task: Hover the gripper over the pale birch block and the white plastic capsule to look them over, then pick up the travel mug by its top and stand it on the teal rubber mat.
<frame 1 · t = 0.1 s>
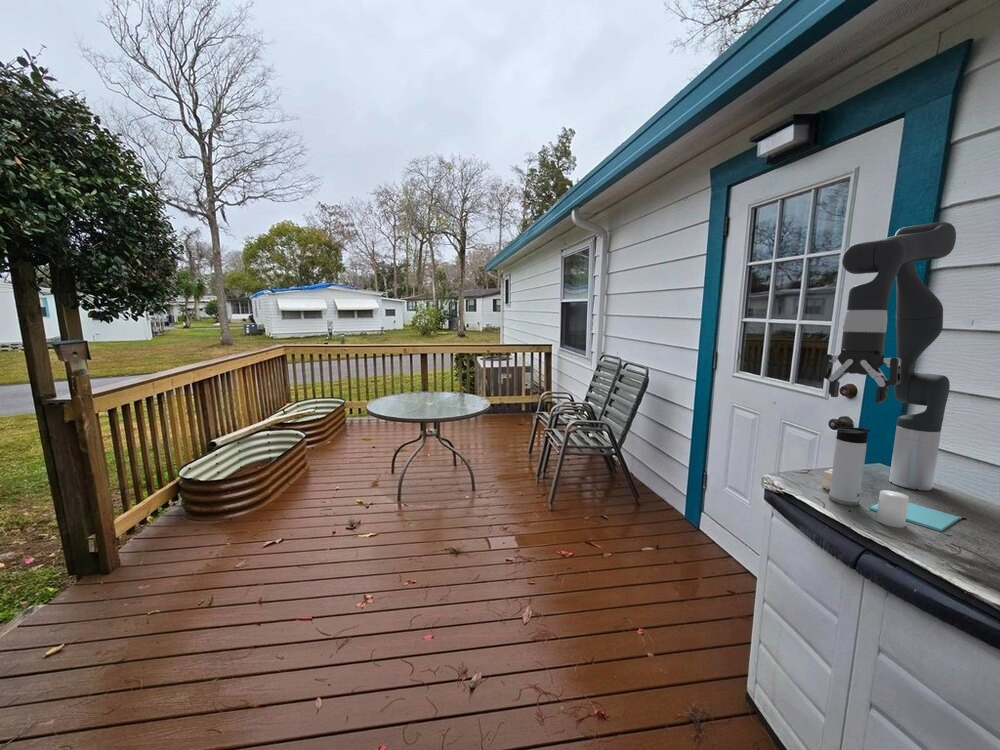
hand: (855, 399, 98), 29 cm above the table, tool pointing down, fingers open, 8 cm apart
white plastic capsule: (890, 522, 100), on the table
travel mug: (844, 501, 112), on the table
birch block: (836, 489, 120), on the table
teal mat: (913, 514, 104), on the table
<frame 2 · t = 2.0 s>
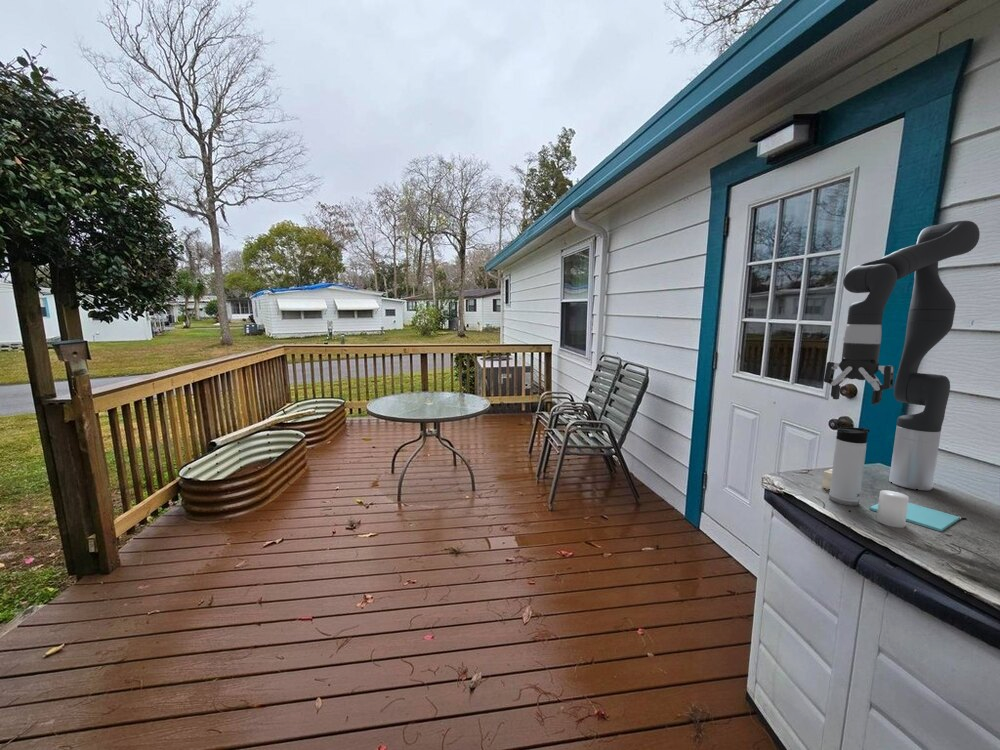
hand: (854, 401, 114), 26 cm above the table, tool pointing down, fingers open, 8 cm apart
nothing on the table moved.
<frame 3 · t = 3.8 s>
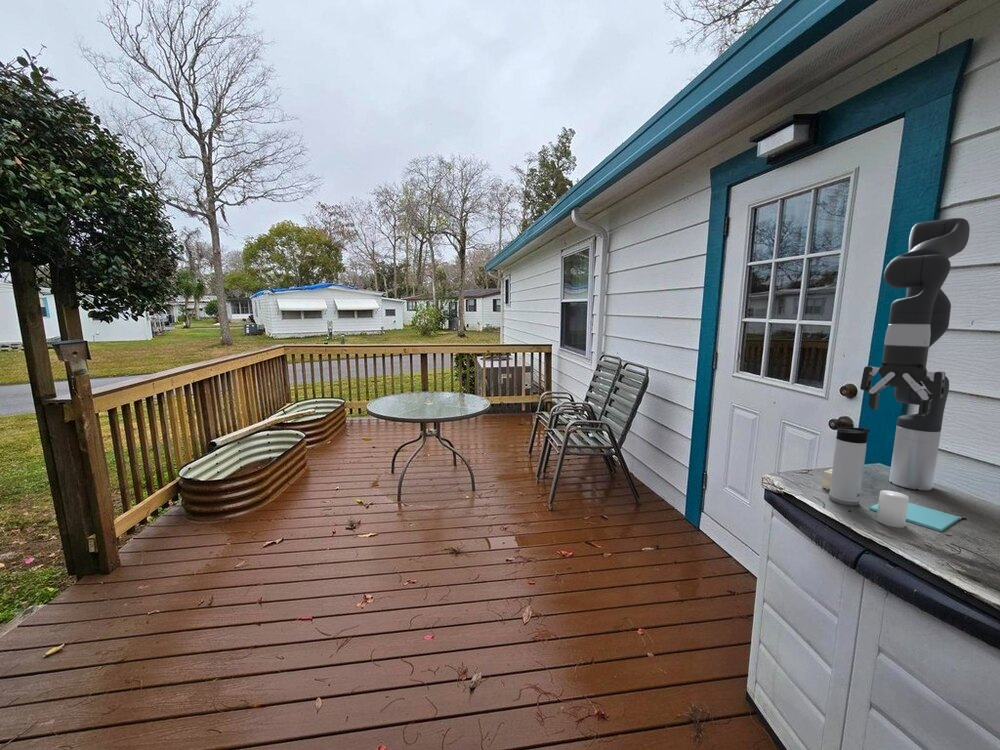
hand: (896, 412, 99), 26 cm above the table, tool pointing down, fingers open, 8 cm apart
nothing on the table moved.
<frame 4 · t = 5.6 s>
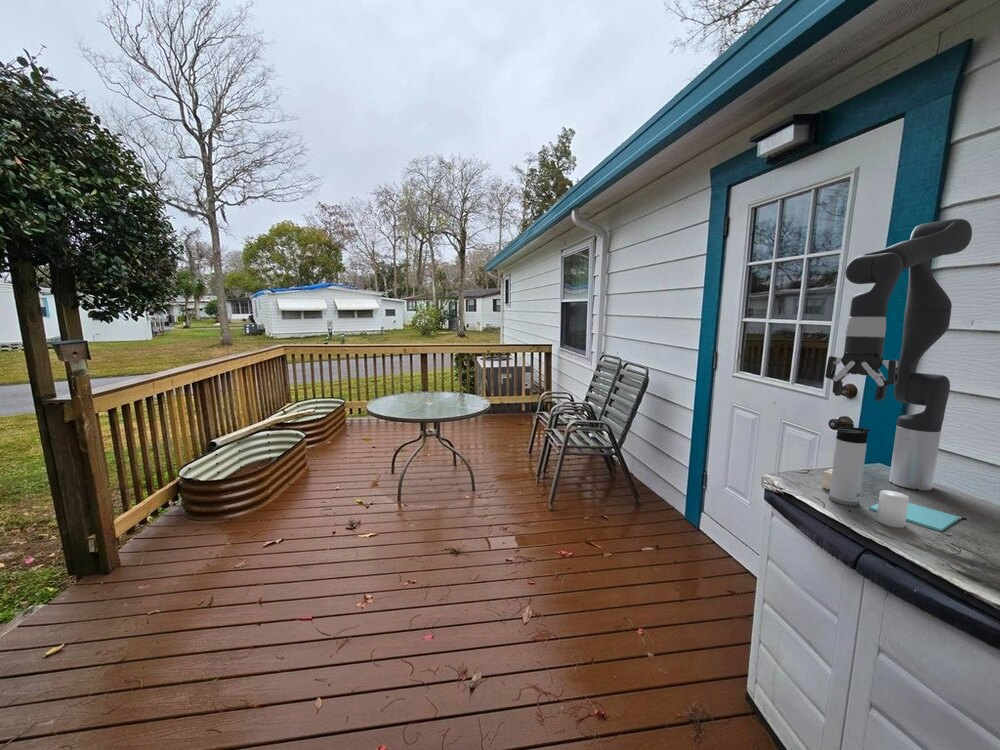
hand: (857, 398, 108), 28 cm above the table, tool pointing down, fingers open, 8 cm apart
nothing on the table moved.
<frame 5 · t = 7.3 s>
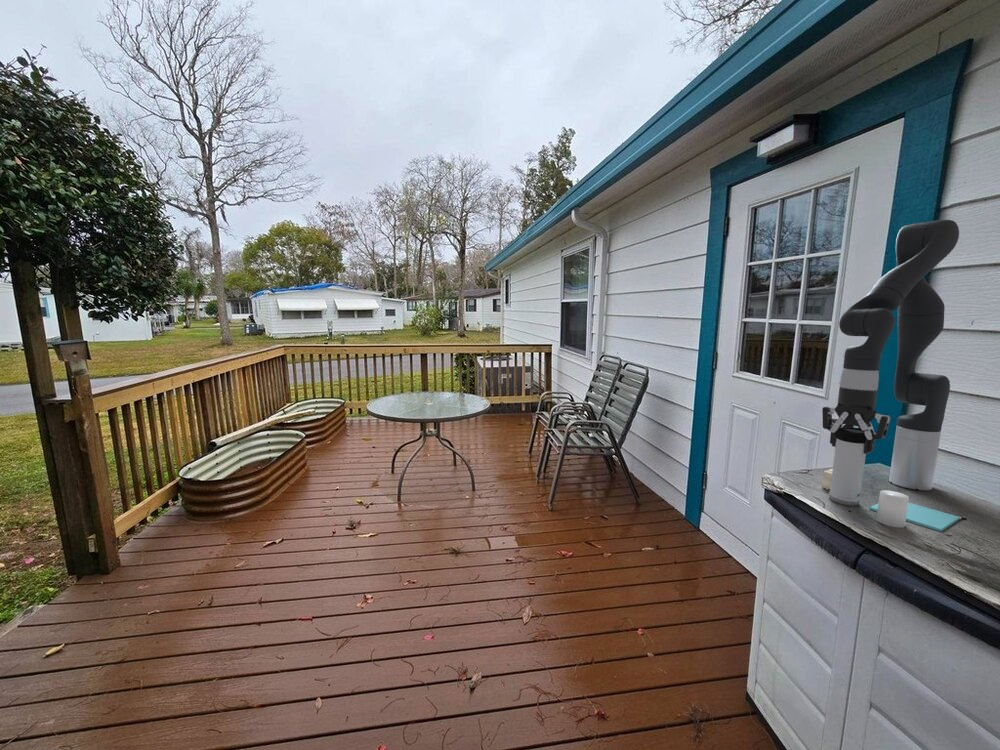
hand: (850, 449, 110), 14 cm above the table, tool pointing down, fingers closed on travel mug, 6 cm apart
travel mug: (844, 501, 112), on the table, touching gripper
everything else where it was.
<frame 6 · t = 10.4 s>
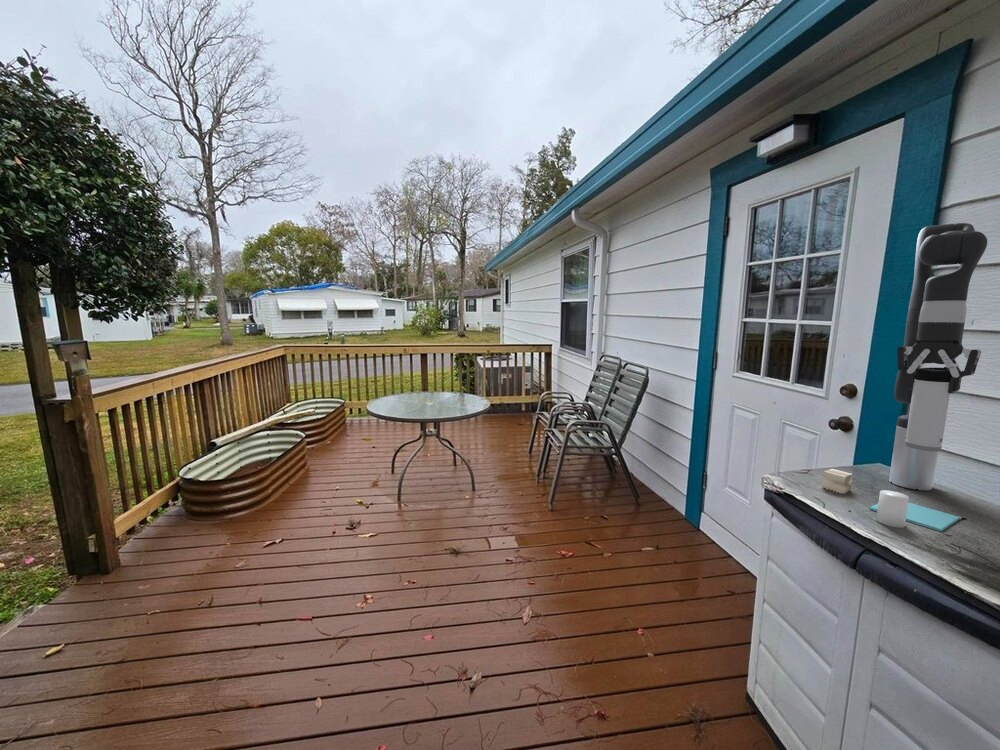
hand: (931, 390, 101), 31 cm above the table, tool pointing down, fingers closed on travel mug, 6 cm apart
travel mug: (923, 448, 102), point 17 cm above the table, touching gripper
everything else where it was.
when the fingers open (16 cm above the table, at t = 13.7 s): travel mug drops 1 cm, resting on teal mat.
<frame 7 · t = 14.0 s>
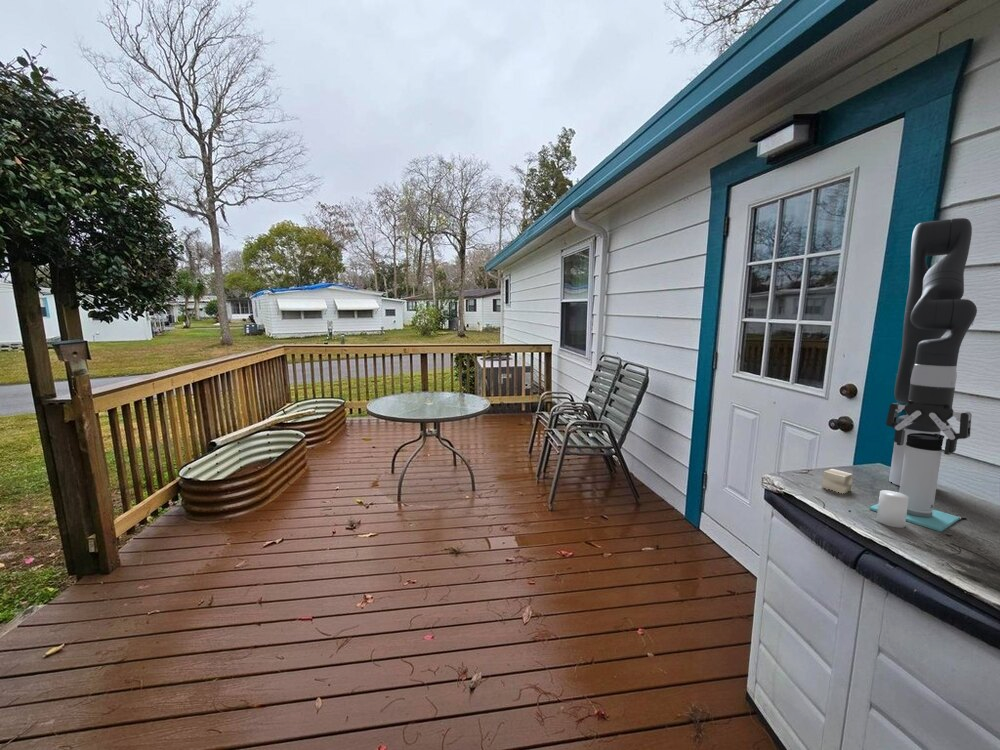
hand: (922, 449, 102), 17 cm above the table, tool pointing down, fingers open, 8 cm apart
travel mug: (914, 512, 104), resting on teal mat
everything else where it was.
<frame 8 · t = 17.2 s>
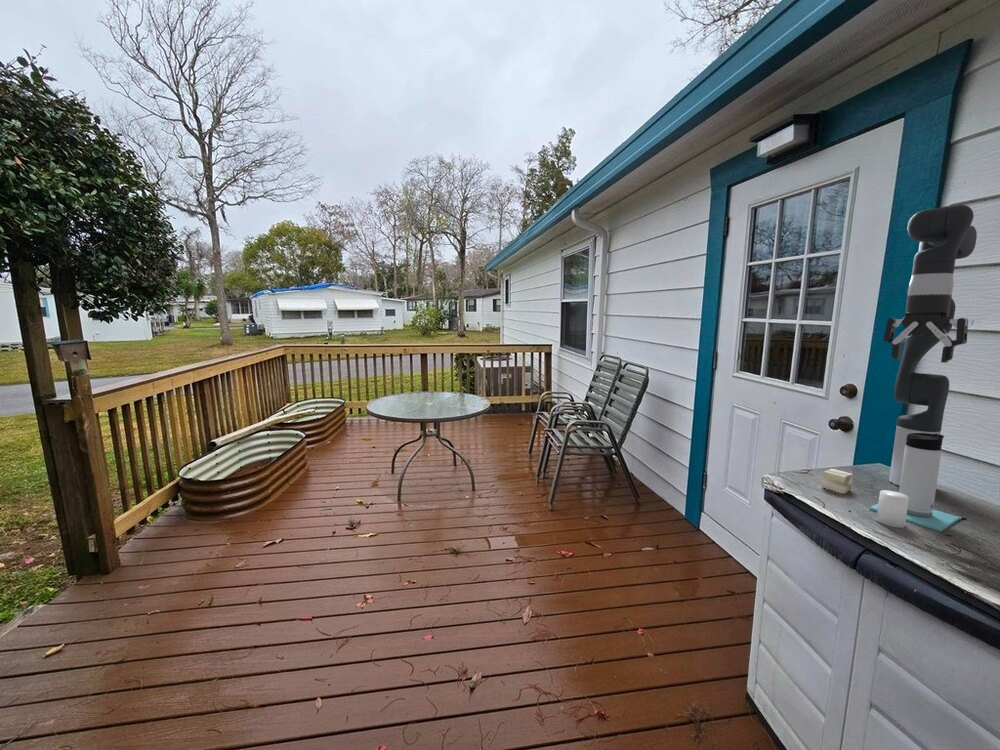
hand: (919, 361, 103), 38 cm above the table, tool pointing down, fingers open, 8 cm apart
nothing on the table moved.
at the end: travel mug inside the target area on the teal mat (0.2 cm from its centre), point 0.4 cm above the teal mat's base; travel mug tilted 0°; the gripper is holding nothing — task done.
